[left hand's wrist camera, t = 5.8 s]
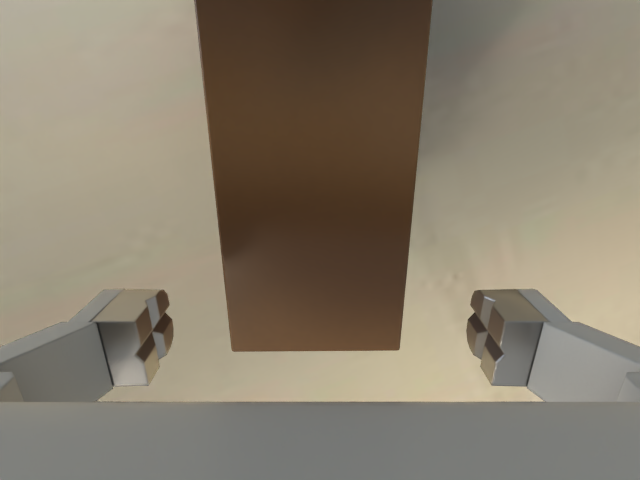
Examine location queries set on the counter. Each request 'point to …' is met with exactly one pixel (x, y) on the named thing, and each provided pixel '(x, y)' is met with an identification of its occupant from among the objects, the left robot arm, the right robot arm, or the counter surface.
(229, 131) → the box
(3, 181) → the counter surface
